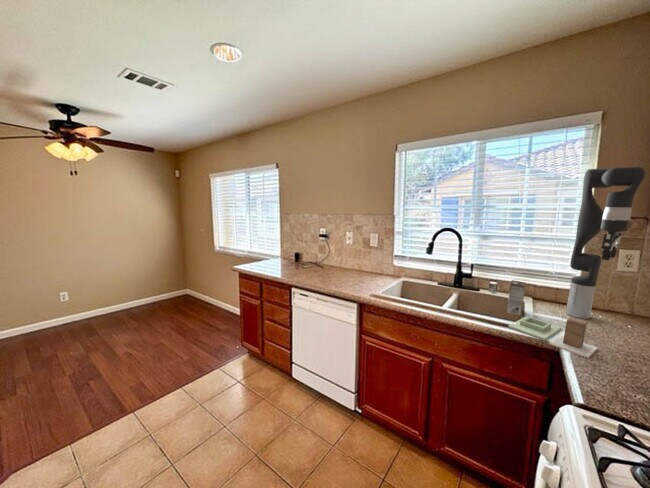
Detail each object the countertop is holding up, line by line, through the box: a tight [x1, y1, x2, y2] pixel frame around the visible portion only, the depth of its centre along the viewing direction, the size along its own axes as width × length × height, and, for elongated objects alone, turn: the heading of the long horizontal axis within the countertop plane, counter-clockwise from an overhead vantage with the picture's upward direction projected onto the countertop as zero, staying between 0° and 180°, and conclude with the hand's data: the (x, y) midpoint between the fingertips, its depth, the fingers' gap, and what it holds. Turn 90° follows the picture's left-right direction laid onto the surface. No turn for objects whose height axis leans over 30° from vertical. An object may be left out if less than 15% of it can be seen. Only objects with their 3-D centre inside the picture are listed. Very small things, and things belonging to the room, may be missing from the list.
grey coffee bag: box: [506, 279, 526, 316], centre depth 142 cm, size 9×6×16 cm
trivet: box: [548, 334, 598, 359], centre depth 109 cm, size 12×12×1 cm
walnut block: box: [563, 317, 588, 349], centre depth 108 cm, size 5×5×10 cm
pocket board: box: [507, 315, 563, 341], centre depth 124 cm, size 20×14×3 cm
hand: (608, 258), depth 108 cm, fingers open, 8 cm apart
